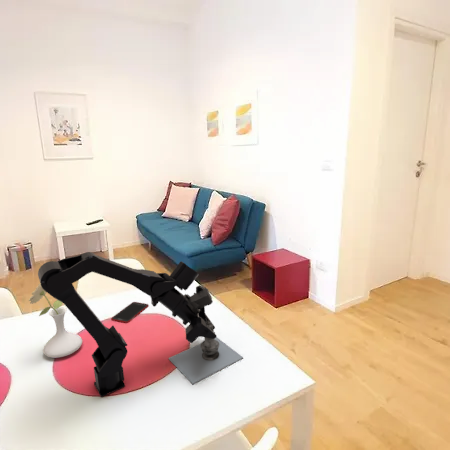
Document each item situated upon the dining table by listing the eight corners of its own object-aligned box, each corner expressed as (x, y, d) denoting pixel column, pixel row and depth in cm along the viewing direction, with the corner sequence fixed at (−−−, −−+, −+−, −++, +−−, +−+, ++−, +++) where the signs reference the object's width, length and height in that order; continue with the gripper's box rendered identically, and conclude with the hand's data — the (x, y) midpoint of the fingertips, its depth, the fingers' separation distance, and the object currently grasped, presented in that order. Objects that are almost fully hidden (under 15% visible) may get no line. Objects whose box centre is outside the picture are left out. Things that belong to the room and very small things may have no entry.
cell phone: (149, 306, 134) (149, 304, 134) (127, 324, 121) (127, 322, 121) (133, 303, 137) (133, 301, 137) (110, 321, 123) (109, 318, 123)
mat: (192, 384, 90) (192, 383, 90) (168, 359, 100) (168, 358, 100) (243, 358, 100) (243, 357, 100) (216, 337, 111) (216, 336, 111)
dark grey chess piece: (217, 362, 98) (215, 326, 95) (198, 360, 99) (195, 324, 96) (221, 349, 103) (219, 315, 100) (203, 348, 105) (201, 314, 102)
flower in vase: (68, 336, 113) (58, 268, 107) (90, 346, 108) (81, 274, 102) (31, 357, 103) (17, 282, 96) (52, 369, 97) (39, 291, 91)
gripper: (196, 297, 86) (238, 331, 90) (194, 270, 104) (228, 300, 108) (168, 326, 87) (210, 359, 91) (170, 295, 105) (205, 323, 109)
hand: (214, 332), depth 100 cm, fingers open, 4 cm apart
